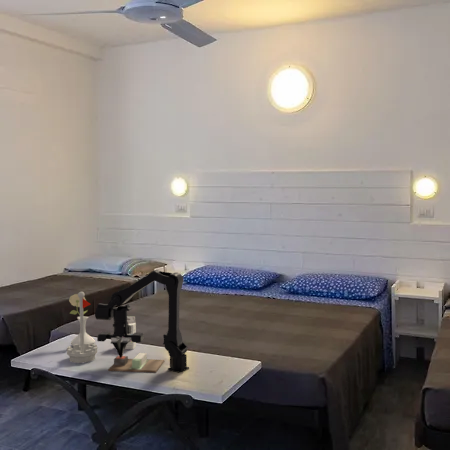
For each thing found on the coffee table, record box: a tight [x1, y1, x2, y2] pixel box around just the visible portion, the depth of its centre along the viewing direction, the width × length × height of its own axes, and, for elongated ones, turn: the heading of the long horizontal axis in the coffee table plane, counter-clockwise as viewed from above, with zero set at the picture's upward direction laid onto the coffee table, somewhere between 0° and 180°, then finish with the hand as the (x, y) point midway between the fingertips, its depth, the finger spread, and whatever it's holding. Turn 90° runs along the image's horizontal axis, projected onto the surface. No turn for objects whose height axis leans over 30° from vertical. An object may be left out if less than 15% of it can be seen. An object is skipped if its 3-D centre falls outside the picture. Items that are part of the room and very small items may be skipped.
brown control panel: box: [107, 355, 165, 373], centre depth 237 cm, size 20×15×3 cm
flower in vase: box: [68, 293, 96, 347], centre depth 269 cm, size 13×11×25 cm
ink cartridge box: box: [121, 315, 137, 350], centre depth 266 cm, size 9×5×15 cm, turn 84°
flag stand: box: [66, 291, 98, 364], centre depth 247 cm, size 13×13×30 cm
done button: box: [115, 355, 127, 359], centre depth 238 cm, size 3×3×2 cm
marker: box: [132, 352, 148, 368], centre depth 237 cm, size 11×3×3 cm, turn 173°
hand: (121, 357), depth 238 cm, fingers closed, pressing on done button
